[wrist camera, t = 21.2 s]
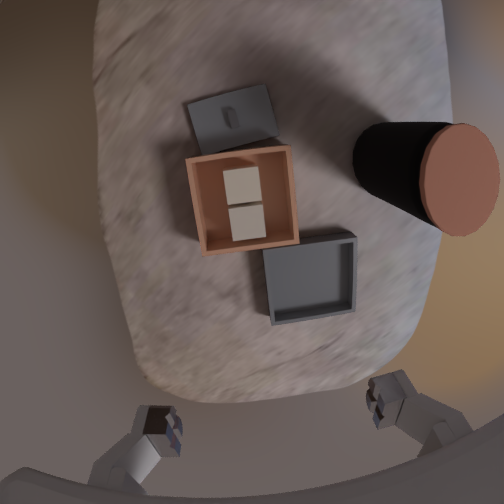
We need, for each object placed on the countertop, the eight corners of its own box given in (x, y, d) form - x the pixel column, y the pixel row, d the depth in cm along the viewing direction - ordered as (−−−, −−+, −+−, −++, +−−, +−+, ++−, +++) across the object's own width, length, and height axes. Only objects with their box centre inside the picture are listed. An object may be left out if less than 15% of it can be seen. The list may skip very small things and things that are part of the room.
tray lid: (188, 105, 34) (186, 104, 33) (264, 84, 34) (265, 82, 32) (202, 156, 37) (201, 156, 35) (278, 135, 36) (280, 135, 35)
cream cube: (224, 167, 37) (222, 171, 33) (255, 163, 37) (258, 166, 33) (228, 198, 39) (227, 204, 35) (259, 194, 39) (261, 200, 35)
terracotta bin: (191, 156, 37) (185, 159, 33) (284, 144, 37) (290, 145, 33) (205, 244, 41) (202, 256, 37) (293, 232, 41) (299, 243, 37)
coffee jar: (365, 208, 41) (437, 256, 24) (336, 138, 37) (408, 144, 20) (421, 179, 39) (506, 210, 23) (398, 113, 36) (486, 110, 19)
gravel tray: (261, 243, 42) (262, 250, 39) (351, 231, 42) (357, 237, 39) (269, 316, 46) (271, 325, 44) (350, 303, 46) (355, 311, 44)
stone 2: (229, 201, 39) (228, 208, 35) (259, 197, 39) (262, 204, 35) (233, 231, 40) (233, 241, 36) (263, 227, 40) (266, 236, 36)
